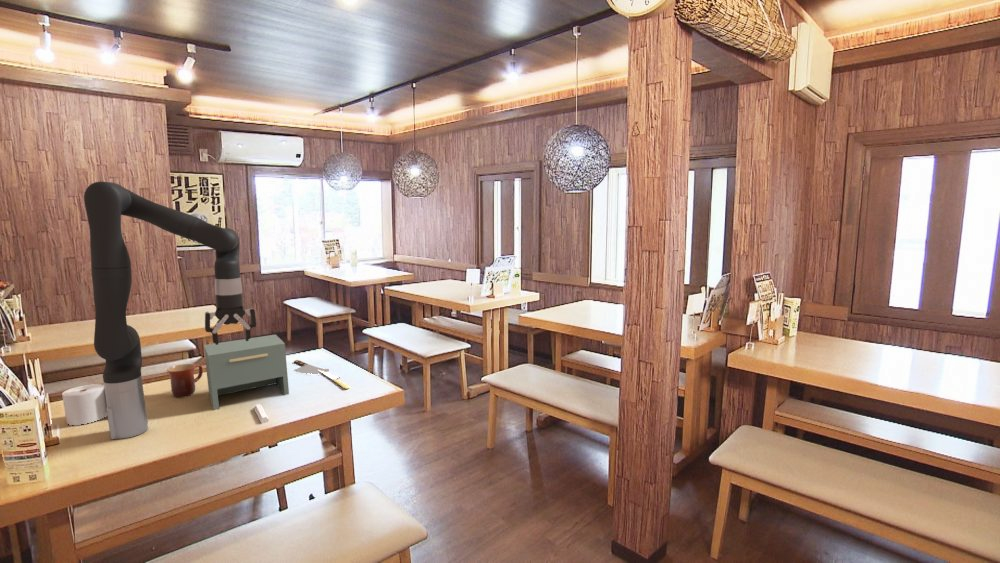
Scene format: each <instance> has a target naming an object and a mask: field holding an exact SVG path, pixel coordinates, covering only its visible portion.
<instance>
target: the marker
mask: <svg viewBox="0 0 1000 563" xmlns="http://www.w3.org/2000/svg"><path fill="white" fill-rule="evenodd" d="M253 410H254V411H255V413H256V415H257V417H258V419H259V421H260V423H261V424H265V423H268V422H269V420H270V419H269V417H268V414H266V412H265V410H264V407H263V405H261V403H258V404H255V405H254V407H253Z"/></svg>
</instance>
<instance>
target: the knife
mask: <svg viewBox="0 0 1000 563" xmlns="http://www.w3.org/2000/svg"><path fill="white" fill-rule="evenodd" d="M320 367H321V366H320ZM320 367H318V368H320ZM317 370H318V369H317ZM318 371H319V372H321V373H323V374H322V375H324V376H326V377H327V378H329V379H331V380H332V381H333V382H335V383H336V384H337V385H339V386H340V387H342V388H343V389H345V390H348V389H350V388H351V385H347V384H346V383H344V382H342V381H341V380H339V379H340V378H339V377H338V376H339V375H338V376H335V375H332V374H331V373H329V372H324V371H321V370H318Z"/></svg>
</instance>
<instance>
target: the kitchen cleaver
mask: <svg viewBox="0 0 1000 563" xmlns="http://www.w3.org/2000/svg"><path fill="white" fill-rule="evenodd" d="M293 364H294V365H298V366H300V367H298V368H296V369H293V371H294V372H298V373H300V374H303V373H306V374H305V375H307V373H310V374H311V373H312V374H318V373H319V374H321V375H323V374H322V373H321V372H319V371H318V370H321V371H324V372H329V371H330V368H325V369H323V368H324V367H323V368H319V367H318V366H315V365H311V364H309V363H306V362H303V361H302V360H298V359H296V360H293ZM317 369H318V370H317Z"/></svg>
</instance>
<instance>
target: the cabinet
mask: <svg viewBox="0 0 1000 563" xmlns="http://www.w3.org/2000/svg"><path fill="white" fill-rule="evenodd" d="M203 351H204V358H205V361H204V362H205V368H206V369H205V370H206V379H207V387H208V394H209V399H210V402H211V405H212V408H213V410H214V411H216V410H219V409H220V403H219V396H222V395H226V394H231V393H237V392H242V391H247V390H253V389H256V388H261V387H266V386H272V385H277V387H278V388H279V389H280V391H281V392H282V393H283V395H284V396H286V395H287V396H288V395H289V394H290V389H289V387H290V386H289V379H288V378H289V376H288V365H287V353H286V343H285V342H284V341H283V340H282V339H281V338H280V337H279V336H278V335H277V334H276V333H275V334H270V335H263V336H257V337H251V338H250V339H248V341H245V338H243V339H236V340H229V341H222V342H218V345H216V344H215V343H209V344H204V345H203ZM246 389H247V390H246ZM241 390H242V391H241Z"/></svg>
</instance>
